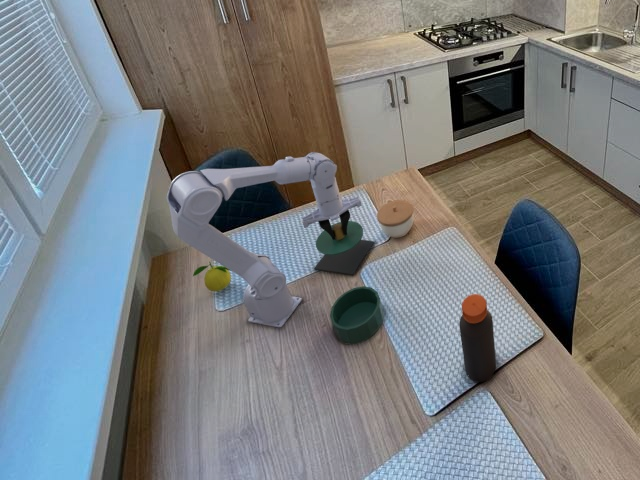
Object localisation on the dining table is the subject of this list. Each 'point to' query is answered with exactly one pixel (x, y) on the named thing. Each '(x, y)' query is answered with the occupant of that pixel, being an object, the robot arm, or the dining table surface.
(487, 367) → the bottle
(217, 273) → the lemon
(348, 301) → the tin
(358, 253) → the mat
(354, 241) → the tin lid
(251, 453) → the dining table surface
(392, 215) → the trinket box
